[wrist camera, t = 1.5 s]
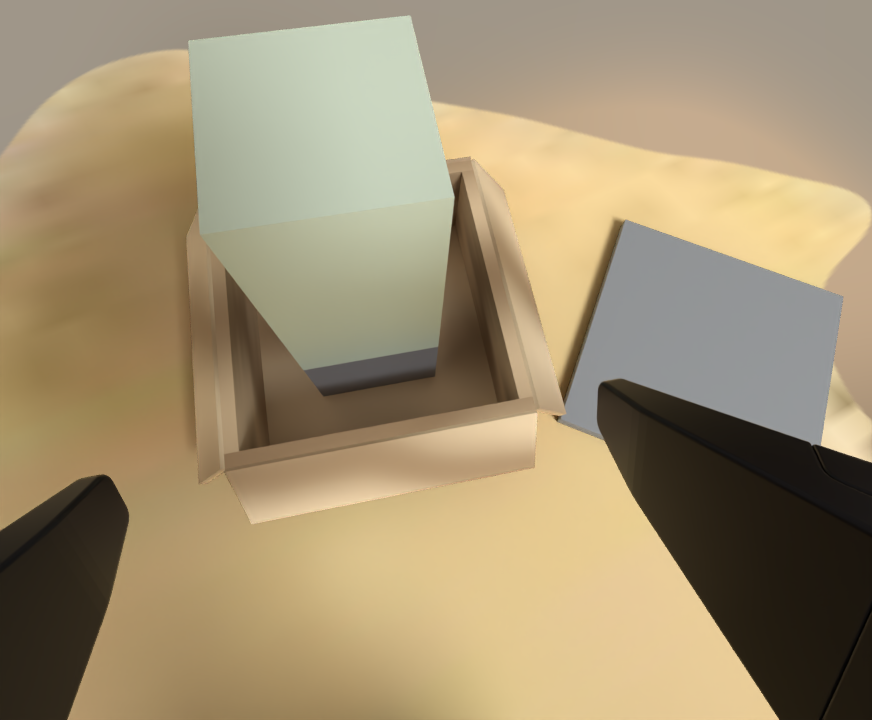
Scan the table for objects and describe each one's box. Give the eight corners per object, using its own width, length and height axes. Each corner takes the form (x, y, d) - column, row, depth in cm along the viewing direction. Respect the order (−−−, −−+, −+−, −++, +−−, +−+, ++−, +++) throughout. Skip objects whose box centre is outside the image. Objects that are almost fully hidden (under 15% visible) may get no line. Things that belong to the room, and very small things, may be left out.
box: (435, 376, 22) (454, 197, 10) (323, 396, 22) (199, 234, 10) (414, 277, 24) (410, 15, 11) (310, 294, 23) (187, 40, 11)
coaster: (799, 517, 21) (809, 517, 21) (556, 421, 22) (560, 419, 22) (833, 301, 25) (843, 296, 24) (620, 226, 26) (625, 219, 25)
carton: (564, 464, 22) (600, 450, 17) (222, 533, 21) (169, 536, 16) (489, 185, 26) (503, 118, 22) (203, 227, 25) (157, 165, 21)
